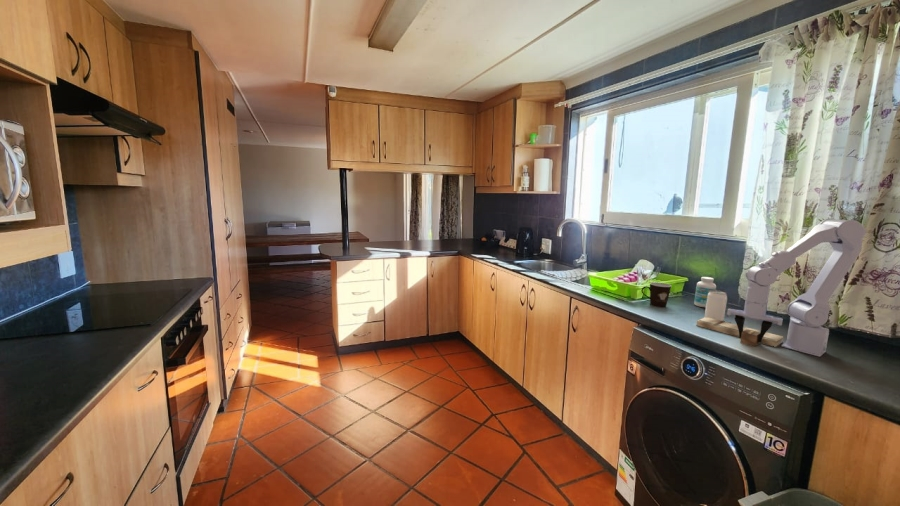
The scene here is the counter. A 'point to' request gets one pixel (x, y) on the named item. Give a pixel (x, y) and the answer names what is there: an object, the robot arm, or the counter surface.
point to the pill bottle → (703, 291)
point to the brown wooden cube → (750, 337)
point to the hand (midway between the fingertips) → (750, 339)
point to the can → (716, 305)
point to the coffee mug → (658, 294)
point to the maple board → (733, 330)
